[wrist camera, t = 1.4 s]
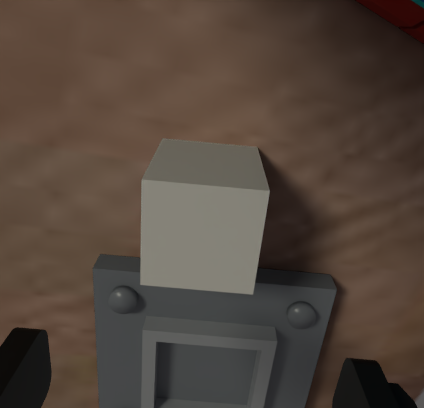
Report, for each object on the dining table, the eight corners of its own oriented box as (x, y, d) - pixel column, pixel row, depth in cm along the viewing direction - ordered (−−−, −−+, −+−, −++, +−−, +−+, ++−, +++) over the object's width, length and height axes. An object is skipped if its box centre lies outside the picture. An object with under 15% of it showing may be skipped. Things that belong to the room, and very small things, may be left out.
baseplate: (100, 254, 24) (86, 280, 21) (330, 274, 24) (342, 303, 21) (105, 412, 30) (95, 447, 27) (290, 427, 30) (296, 463, 27)
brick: (162, 138, 21) (141, 179, 15) (257, 146, 21) (269, 190, 15) (159, 222, 23) (140, 284, 17) (245, 229, 23) (252, 294, 17)
